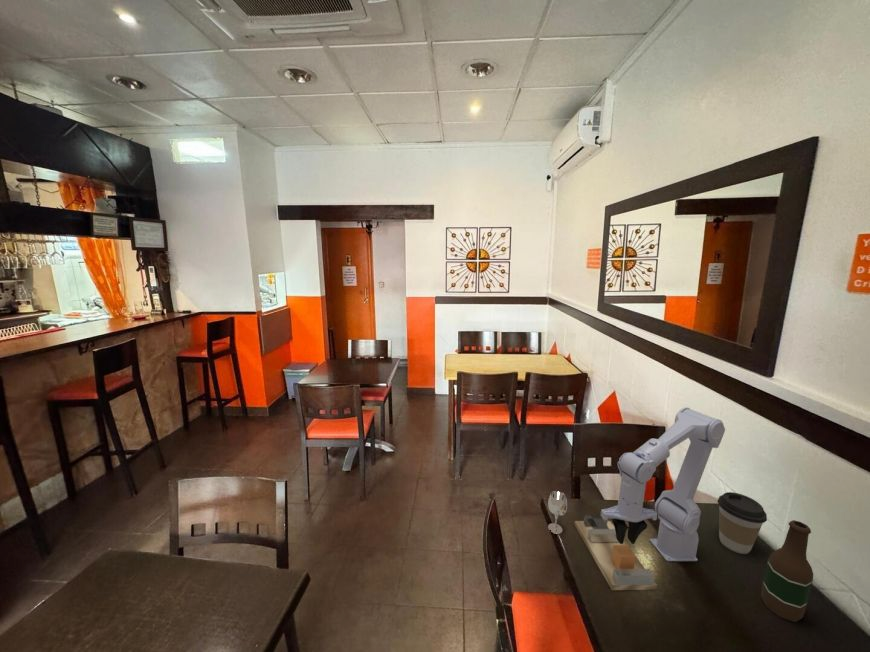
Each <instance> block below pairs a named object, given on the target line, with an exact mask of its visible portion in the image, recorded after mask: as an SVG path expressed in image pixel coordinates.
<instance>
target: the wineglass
mask: <svg viewBox="0 0 870 652" xmlns="http://www.w3.org/2000/svg"><path fill="white" fill-rule="evenodd" d="M547 508H548V510H549V511H550V513H551V514H553V515H554V523H553V522H552V523H549V524H548V526H547V528H548V530H549V531H550V530H551V531H550V532H551V533H553V534H557V535H560V534H562V533H563V528H562V526H561V525H559V524H557V521H558V518H559V517H560V516H563V515H565V514H566V513H567V509H568V501H567V496H566V495H565V493H564V492H561V491H559V490H553V491H552V492H550V495H549V497H548V501H547Z"/></svg>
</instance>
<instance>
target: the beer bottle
mask: <svg viewBox="0 0 870 652" xmlns="http://www.w3.org/2000/svg"><path fill="white" fill-rule="evenodd" d="M788 525H789V527H788V531H787V533H786V536H785V539H784V542H783V544H782V545H781V547H780V548H778V549H775V550H773V551H772V552H771V553H770V554H769V557H768V559H767V563H766V567H765V572H764V576H763V581H762V586H761V590H760V598H761V600H762V602H763V604H764V606H765V607H766V608H767V609H768V610H769V611H771V612H772V613H773V614H775V615H776V616H778V617H779V618H781V619H784V620H786V621H789V622H793V623H797V622H798V621H800V620H801V619H803V618H804V615H805V613H806V608H807V605H808V602H809V597H810V594H811V589H812V586H813V582H814V571H813V567H812V566H811V564H810V562H809V561H808V559H807V558H808V557H807V550H808V542H809V535H810V534H811V533H812V530H811V528H810V527H809V526H808V525H807V524H806V523H804V522H801V521H799V520H795V519H794V520H790V521H789V522H788Z"/></svg>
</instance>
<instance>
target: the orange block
mask: <svg viewBox="0 0 870 652" xmlns="http://www.w3.org/2000/svg"><path fill="white" fill-rule="evenodd" d="M629 547H630V546H629V544H628V545H613V553H612V561H613V563H614V565H615V566H616V568H617V569H634V565H635V558H636V557H637V556H635V555H636V554H635V553H634V551H633V550H632V549H631V547H630V548H629ZM631 550H632V551H633V552H632V551H631ZM633 553H634V554H635V555H634V554H633Z"/></svg>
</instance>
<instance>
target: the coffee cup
mask: <svg viewBox="0 0 870 652" xmlns="http://www.w3.org/2000/svg"><path fill="white" fill-rule="evenodd" d="M716 501H717V504H718V507H719V508H718V509H719V512H718V514H719V515H718V516H719V518H718V519H719V521H718V525H719V526H718V536H719V541H720V542H721V544H722V546H724V547H725V548H726V549H728V550H730V551H732V552H734V553H738V554H740V555H747V554H749V553H750V552H751V551H752V549H753V547H754V544H755V542H756V539H757V537H758V535H759V534H760V531H761V528H762V526H763V524H765V522H767V521H768V516H767V515H768V514H767V513H766V512H765V510H764V507H763V506H762V505H761V504H760V503H759V502H758V501H756V500H755V499H753V498H752V497H750V496H748V495H744V494H741V493H737V492H732V491H729V492H725V493H723V494H722V495H720V496H718V498H717V500H716Z"/></svg>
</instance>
